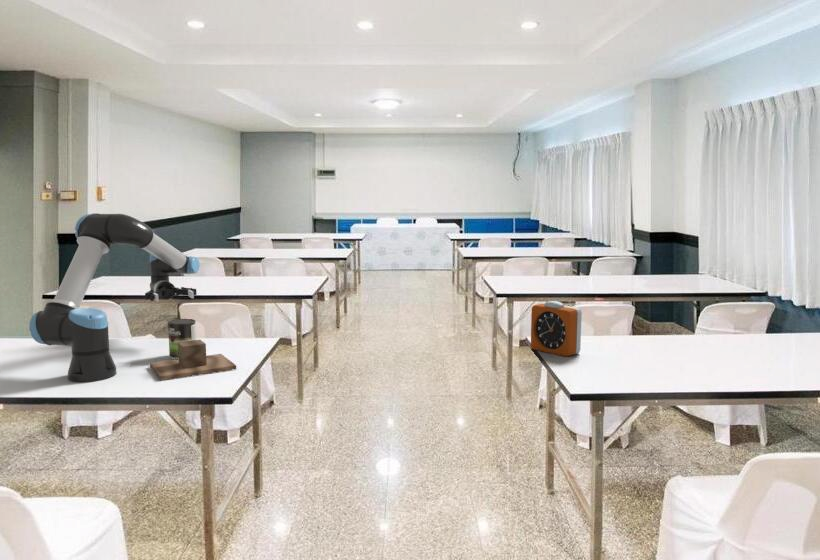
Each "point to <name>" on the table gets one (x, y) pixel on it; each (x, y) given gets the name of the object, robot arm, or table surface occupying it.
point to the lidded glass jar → (180, 334)
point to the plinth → (180, 372)
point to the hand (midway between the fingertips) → (175, 296)
